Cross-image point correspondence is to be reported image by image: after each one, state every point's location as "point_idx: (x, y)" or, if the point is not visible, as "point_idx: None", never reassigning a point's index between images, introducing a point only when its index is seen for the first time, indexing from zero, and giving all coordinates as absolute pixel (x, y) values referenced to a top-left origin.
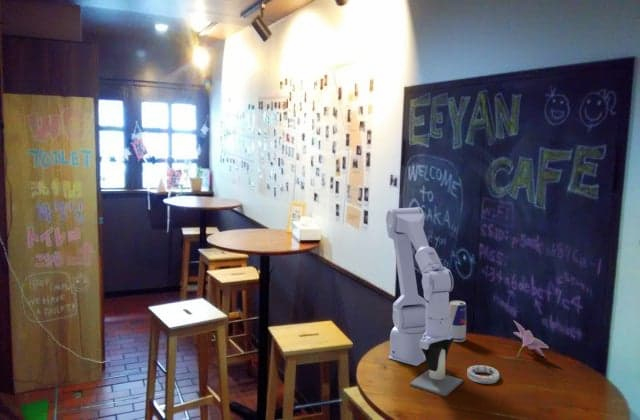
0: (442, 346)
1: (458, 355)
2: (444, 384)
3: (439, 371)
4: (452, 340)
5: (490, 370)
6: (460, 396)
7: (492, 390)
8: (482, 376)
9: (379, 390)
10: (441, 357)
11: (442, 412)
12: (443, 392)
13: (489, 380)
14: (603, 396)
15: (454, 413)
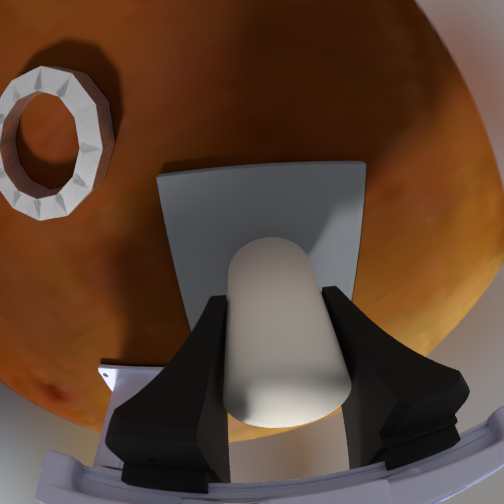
0: (217, 410)
1: (13, 307)
2: (273, 217)
3: (310, 273)
4: (147, 429)
5: (4, 139)
6: (316, 103)
7: (140, 21)
8: (77, 110)
9: (415, 343)
10: (318, 334)
11: (471, 120)
12: (355, 179)
13: (77, 73)
14: None
15: (457, 77)
